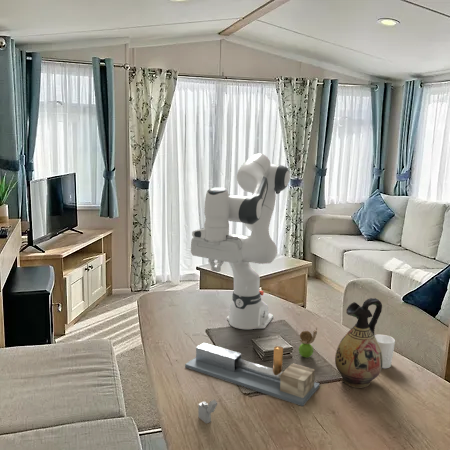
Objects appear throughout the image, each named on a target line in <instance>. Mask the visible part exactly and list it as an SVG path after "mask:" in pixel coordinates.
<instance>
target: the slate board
mask: <svg viewBox="0 0 450 450" xmlns="http://www.w3.org/2000/svg"><path fill="white" fill-rule="evenodd" d="M184 367H185V368H186V369H188V370H189V369H190V370H191V371H195V372H199V373H202V374H204V375H207V376H209V377H214V378H217V379H220V380H223V381H225V382H228V383H232V384H234V385H236V386H240V385H241V387H243V386H244V388H246V387H247V389H249V388H250V390H253V391H255V392H258V393H261V394H264V395H268V396H271V397H274V398H276V399H280V400H283V401H286V402H289V403H292V404H295V405H298V406H301V407H304V405H305V404H306V403H307V402H308V401H309V400H310V399H311V397H312V396H313V395H314V394H315V392H317V391H318V389H319V388H320V382H316V381H314V386H313V388H312V389H311V390H310V391H309V392H308V393H307V394H306V395H305V397H304V398H301V397H298V396H295V395H292V394H289V393H286V392H283V391H280V381H278V380H275V379H272V378H269V377H265V376H262V375H259V374H256V373H253V372H249V371H246V370H243V369H240V368H239V369H238V370H236V371H235V372H231V371H228V370H225V369H222V368H218V367H215V366H212V365H209V364H206V363H203V362H200V361H196V356H195V357H194V358H192V359H191V360H189V361H188V362H186V363H185V364H184Z"/></svg>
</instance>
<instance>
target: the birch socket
mask: <svg viewBox="0 0 450 450" xmlns="http://www.w3.org/2000/svg"><path fill="white" fill-rule="evenodd" d="M315 373H316V369H315V368H312V367H308V366H304V365H300V364H296V363H294V362H293V363H291V364H290V365H289V366H288V367H287V368H285V369H284V371H283V372H282V373H281V381H280V391H283V392H286V393H289V394H292V395H295V396H298V397H301V398H304V397H305V395H306V394H307V393H308V392H309V391H310V390H311V389H312V388H313V386H314V382H315V376H316V375H315Z"/></svg>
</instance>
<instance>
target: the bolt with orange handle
mask: <svg viewBox="0 0 450 450" xmlns="http://www.w3.org/2000/svg"><path fill="white" fill-rule="evenodd" d="M283 355H284V347H282V346H281V345H275V346H274V347H273V362H272V367H269V366H266V365H263V364H259V363H256V362H252V361H250V360H249V361H248V360H245V359H243V358H241V359H240V358H237V359H235V367H237V368H240V369H243V370H246V371H249V372H253V373H256V374H259V375H262V376H265V377H269V378H272V379H275V380H278V381H281V373H282V372H284V371H283V361H284V359H283V357H284V356H283Z"/></svg>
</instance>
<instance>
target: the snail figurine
mask: <svg viewBox="0 0 450 450" xmlns="http://www.w3.org/2000/svg"><path fill="white" fill-rule="evenodd" d="M317 330H318V327H315V330H314V331H313V332H311V331H308V330H303V331H301V332H300V334H299V338H300V339H299V342H300V343H301V344H300V345H299V347H298V353H299V355H300V356H301V357H302V358H306V359H308V358H311V356H313V354H314V347H313V346H312V345H311V344H312V343H313V342H314V341H315V340H316V337H317V333H318V331H317Z"/></svg>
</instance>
